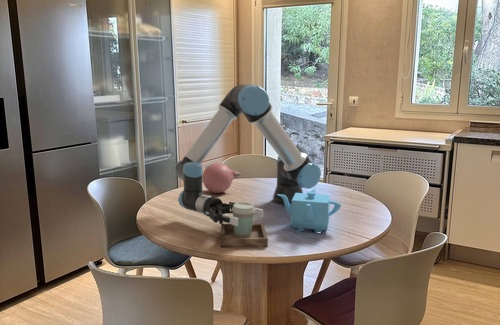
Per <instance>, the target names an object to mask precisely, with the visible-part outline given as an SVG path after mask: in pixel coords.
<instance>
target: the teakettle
mask: <svg viewBox="0 0 500 325" xmlns="http://www.w3.org/2000/svg"><path fill="white" fill-rule="evenodd" d="M316 192H317V191H316V189H315V188H311V190H310V191H307V192H306V193H305V192H303V193H295V195H294V197H293V199H292V202H291V205H290V204H289V201H288V198H287V197H286V196H285V195H282V194H277V195H278V196H280V197H281V198H282V199H283V201H284V204H285V205H284V208H285V209H286V212H287V213H288V214H289V215H290V228H295V229H296V230H297V231H296V232H298V231H303V230H304V231H305V229H308V230H314V233H315V232H322V233H323V231H328V227H329V221H330V217H331V216H333V215H334V214H335V213H337V212H338V211H339V210H340V209H341V207H342V205H341V203H340V202H338V201H335V200H331V194H318V193H316ZM331 205H334V207H333V209H332V210H331V211H330V206H331ZM304 231H303V232H304Z"/></svg>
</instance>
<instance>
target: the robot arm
mask: <svg viewBox="0 0 500 325" xmlns="http://www.w3.org/2000/svg"><path fill="white" fill-rule="evenodd" d="M272 109H273V106H272V104H271V103H270V97H269V94H268V92H267V91H266V90H265V89H264V88H263V87H261V86H259V85H256V84H238V85H235V86H233V88H231V89H230V90H229V91H228V92H227V93H226V95H225V97H224V98H223V99H222V100H221V101H220V103H219V104H218V110H217V111H216V113H215V114H214V115H213V117H212V118H211V120H210V121H209V123H207V125H206V127H205V128H204V129H203V131H202V132H201V134H200V135H199V136H198V138H196V140H195V142H194V144H193V145H191V147H190V149H189V150H188V152H187V153H186V154H185V155H184V157H183V158H182V160H179V161H177V162H176V163H175V164H174V168H173V169H174V170H173V171H174V173H175V175H176V176H177V177H178V178H179V179H180V180H181V181H182V182H183V190H182V191H181V192H180V194H179V196H178V204H179V205H180V206H181V208H183V209H186V210H189V211H194V212H197V213H199V214H203V215H204V216H207V217H208V218H210V219H211V220H212V222H213V223H215V224H216V223H219V224H220V225H221V224H232V225H235V226H238V218H236V217H233V215H228V214H233V211H232V208H233V205H234V204H235V203H236V202H232V201H230V202H228V203H226V202H223V201H222V199H221V198H219V197H215V196H213V195H209V194H208V195H207V194H204V193H203V179H202V177H203V173H204V171H203V164H202V163H203V162H204V160H206V158H207V156H208V155H209V154H210V152H211V151H212V149H213V148H214V147H215V145H216V144H217V142H218V141H219V140H220V138H221V137H222V136H223V134H224V133H225V132H226V130H227V129H228V127H229V126H230V125H231V123H232V122H233V121H234V120H237V119H238V118H239V116H240V115H241V114H243V116H244V118H246V120H247V122H248V123H249V124H254V125H255V126H256V127H257V129H258V130H259V132H260V133H261V134H262V135H263V137H264V139H266V141H267V142H268V144H269V145H270V147H271V148H272V150H274V152H275V153H276V155H277V159H276V160H277V162H276V187H275V190H274V192H273V195H272V202H273V203H275V204H277V205H281V206H285V204H284V201H283V199H282V198H281V197H280V196H278V195H277V194H282V195H285V196H286V197H287V198H288V201H289V204H290V205H291V202H292V199H293V197H294V195H295V193H304V192H303V191H304V190H303V189H305V190H306V189H307V190H308V189H309V190H310V189H313V188H314V187H316V186H317V184H318V183H319V182H320V180H321V176H322V172H321V171H322V170H321V168H320V166H319V165H318V164H316V163H315V162H312V161H311V159H310V158H309V157H308V155H307V153H306V152H301V151H300V150H299V148H298V146H297V145H296V144H295V143H294V141H293V140H292V138H291V137H290V135H289V134H288V133H287V131H286V130H285V129H284V127H283V126H282V125H281V123H280V122H279V120H278V119H277V118H276V116H275V114H274V113H273V112H272ZM254 208H255V212H254V216H255V217H256V216H257V217H260V218H263V217H264V209H262V208H259V207H255V206H254Z"/></svg>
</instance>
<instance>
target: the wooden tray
mask: <svg viewBox="0 0 500 325" xmlns="http://www.w3.org/2000/svg"><path fill="white" fill-rule="evenodd" d="M220 228H221V229H220V248H268V247H269V241H268V240H269V238H268V235H267V230H266V227H265V224H264V223H263V222H262V223H253V224H252V230H251V236H250V238H236V237H235V234H234V225H232V224H229V223H223V224H220Z"/></svg>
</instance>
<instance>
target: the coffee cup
mask: <svg viewBox="0 0 500 325" xmlns="http://www.w3.org/2000/svg"><path fill="white" fill-rule="evenodd" d="M234 203H235V204H234V205H233V208H232V211H233V213H232V216H233V217H236V218H238V226H235V225H234V234H235V237H236V238H250V236H251V230H252V224H254V218H255V217H254V216H255V215H254V212H255V208H256V207H255V205H254V204H253V203H250V202H247V201H246V202H244V201H243V202H241V201H240V202H234ZM254 207H255V208H254Z"/></svg>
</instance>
